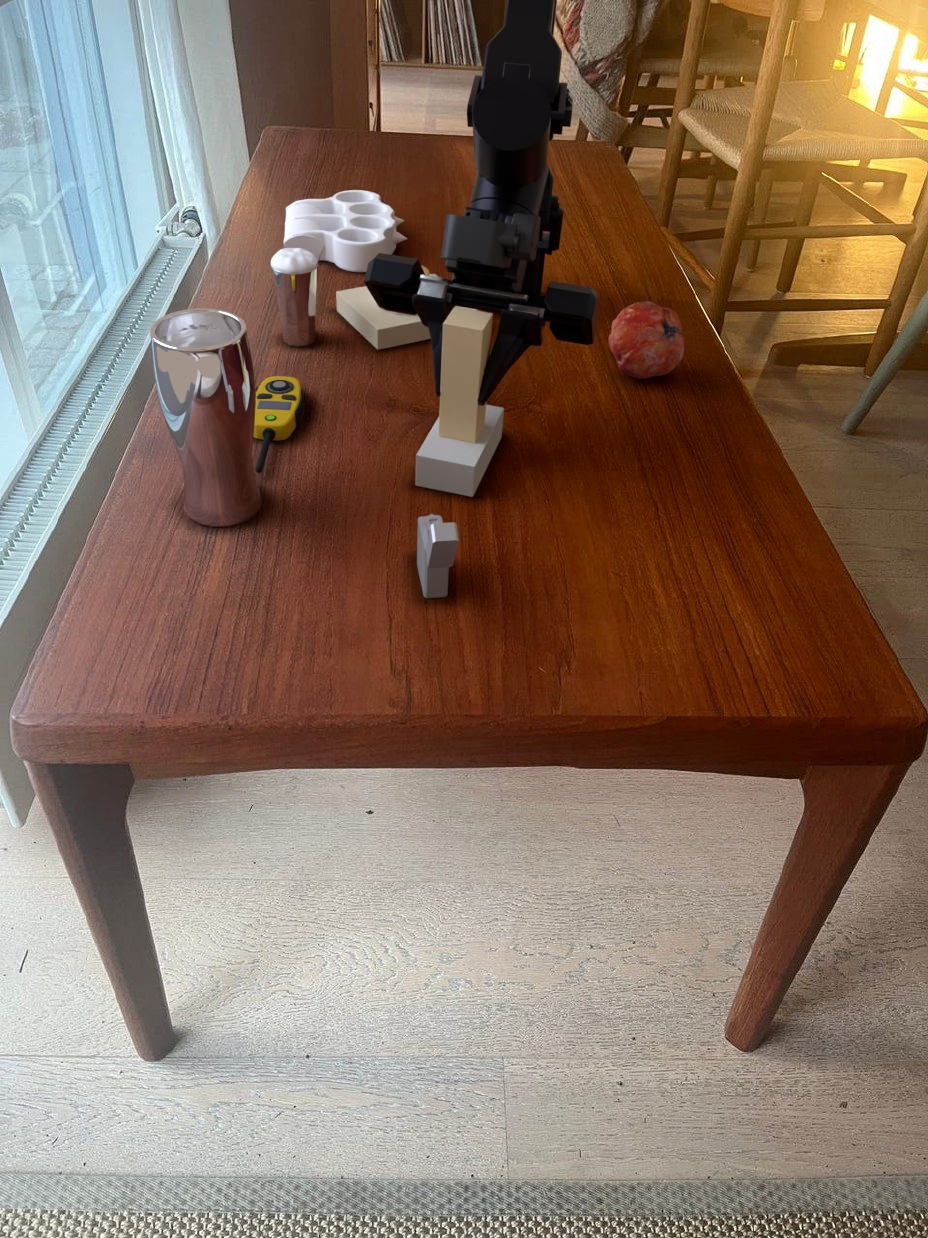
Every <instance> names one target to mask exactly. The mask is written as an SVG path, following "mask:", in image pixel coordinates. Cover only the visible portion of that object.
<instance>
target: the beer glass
mask: <svg viewBox="0 0 928 1238" xmlns="http://www.w3.org/2000/svg"><path fill="white" fill-rule="evenodd" d="M149 335H150V339H151V340H150V341H151V350H152V352H151V353H152V362H153V373H154V381H155V387H156V392H157V396H158V401H159V404H160V405H159V406H160V408H161V411H162V415H163V417H164V420H165V421H164V422H165V424H166V426H167V429H168V431H169V434H170V437H171V439H172V442H173V444H174V447H175V450H176V452H177V455H178V458H179V461H180V464H181V467H182V468H181V469H182V473H183V500H182V501H183V510H184V513H185V514H186V516H187V517H188V518H189V519H190V520H192V521H194V522H196V523H197V524H200V525H203V526H205V527H214V528H223V527H224V528H225V527H231V526H236V525H240V524H242V523H244V522H247V521H249V520H251V518H253V517H254V516H256V515H257V513H259V511H260V509H261V507H262V502H263V501H262V494H261V491H260V488H259V485H258V482H257V478H256V475H255V472H254V466H253V445H254V425H255V412H256V377H255V370H254V363H253V358H252V353H251V348H250V342H249V337H248V333H247V323H246V322H245V321H244V319H243V318H241V317H240V316H238V315H237V314H235V313H233V312H231V311H227V310H222V309H218V308H208V307H207V308H206V307H201V308H196V307H195V308H188V309H181V310H178V311H177V310H176V311H173V312H170V313H167V314H165V315H163V316H161V317H159V318H158V319H157V320H156V321H154V322H153V323H152V325H151V327H150V329H149Z"/></svg>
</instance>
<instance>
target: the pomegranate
mask: <svg viewBox="0 0 928 1238" xmlns="http://www.w3.org/2000/svg"><path fill="white" fill-rule="evenodd" d="M610 328H611V329H610V334H609V335H608V347H609V349H610V351H611V353H612V354H613V356H614V359H615V362H616V364H617V366H618V369H619V370H620V372H622V373H624V374H625V375H627V376H630V377H632V378H634V379H639V380H641V379H642V380H645V379H648V378H652V377H660V376H665V375H667V374H669V373H670V372H671V371H674V369H675V368H677V366H678V365H679V364H680V362H681V360H682V359H683V357H684V352H685V338H684V335H683V334H684V332H683V331H682V329H683V325H682V323H681V320H680V318H679V315H678V313H677V312H676V311H675V310H674V309H671V308H668V307H662V306H660V305H658V304H657V303H655V302H653V301H649V300H645V301H642V302H641V301H637V302H635V303H632V304H630V305H628V306H627V307H624V308H623V309H622V310H621V311H620V312H619V314H618V315H617V316H616V317H615V318H614V320H613V321H611V327H610Z"/></svg>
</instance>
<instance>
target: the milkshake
mask: <svg viewBox="0 0 928 1238" xmlns="http://www.w3.org/2000/svg"><path fill="white" fill-rule="evenodd" d="M323 249H324V246H323V248H322V251H323ZM322 251H321V253H320V256H319V259H320V257H321V254H322ZM319 259H318V260H317V258H316V257H315V256H314V255H313V254H312V253H311V252H309V251H306V250H304V249H302V248H284V247H283V248H281V249H279V250H278V251H277V252H275V254H274V255H273V256H272V257H271V259H270V268H271V274H272V280H273V284H274V285H273V286H274V290H275V295H276V301H277V307H278V313H279V320H280V327H281V333H282V339H283V342H284V343H285V344H287V345H289V346H291V347H298V348H301V347H308V346H311V345H312V344H314V343H315V342H316V309H317V308H316V305H317V288H318V274H319V273H318V272H319V271H318V270H319V261H320V260H319Z"/></svg>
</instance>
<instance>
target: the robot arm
mask: <svg viewBox="0 0 928 1238" xmlns="http://www.w3.org/2000/svg"><path fill="white" fill-rule="evenodd" d="M557 5H558V0H506V1H505V9H504V16H503V25H502V28H501V29H499V31H498V32H497V33H496V34H495V35H494V36H493V37H492V38H491V39H490V40H489V42H487V44H486V46H485V52H484V60H483V67H482V74H479V75H478V74H475V75H474V78H473V82H472V86H471V89H470V93H469V96H468V97H469V98H468V101H467V106H466V120H467V121H466V123H467V124H466V125H467V127H468V128H472V139H473V140H472V141H473V154H474V157H473V158H474V166H475V169H476V175H475V180H474V183H473V184H474V185H473V188H472V193H471V197H470V200H469V205H468V206H466V207H465V210H464V212H463V215H459V214H452V213H447V214H446V219H445V225H444V232H443V239H442V246H441V253H440V259H441V260H446V261H445V265H444V267H445V269H446V272H447V273H452V277H451V279H447V278H444V277H440V276H438V277H435V276H428V275H425V273H424V271H423V269H422V266H423V265H422V264H421V262H420V260H419V258H413V257H406V256H401V255H395V254H391V255H389V254H383V253H379V254H377V255H376V256H375V257H374V258H373V259H372V260H371V261H370V262H369V263H368V267H367V271H366V272H365V275H364V276H365V277H364V279H363V284H364V285H365V286H366V287H367V288H368V290H369V292H370V293H371V295H372V297H373V298H374V300H375V302H376V303H377V305H378V307H380V308H382V309H384V310H386V311H392V312H397V313H403V314H409V315H416V314H418V316H419V318H420V320H421V322H422V324H423V325H424V326H426V327H428V328H429V333H430V338H431V339H430V343H431V344H430V345H431V351H432V352H431V353H432V366H433V376H434V378H433V379H434V388H435V390H434V391H435V395H436V397H437V398H438V399H440V395H441V392H440V387H441V362H442V337H443V323H444V321H445V320H446V319H447V317H448V316H449V314H450V313H451V311H452V310H453V308H454V307H455V306H459V307H465V308H471V309H477V310H480V311H482V312H488V313H496V314H500V316H499V322H498V328H497V333H496V336H495V340H494V342H493V346H492V349H491V350H490V357H489V360H488V363H487V366H486V369H485V372H484V375H483V378H482V382H481V387H480V392H479V397H478V404H479V405H481V406H484V405H485V403H486V404H487V402H488V401H489V399H490V398H491V396H492V394H493V393H494V392H495V390H496V389H497V387H498V386H499V384H500V383H501V382H502V380H503V379H504V378H505V376H506V375H507V373H508V372H509V370H510V369H511V368H512V367H513V366H514V364H515V363H516V362H517V361H518V360H519V359H520V358H521V357H522V355H524V353H525V352H526V351H527V350H528V349H529V348H530V347H531V346H534V347H541V346H542V345H543V342H544V338H543V330H544V327H546V323H547V322H549V326H548V328H549V331H550V332H551V334H552V335H553V337H554V338H555V340H556V341H560V342H566V343H571V344H578V345H584V346H590V345H594V342H595V338H596V333H597V328H598V323H599V317H600V311H599V296H598V295H597V293H596V291H595V290H594V287H592V286H586V285H579V284H574V283H567V282H563V281H556V280H555V281H554V280H549V281H550V282H549V283H548V285H547V287H546V291H545V292H546V293H545V294H542V289H543V279H544V278H543V277H544V269H545V260H546V255H547V256H552V255H553V252H555V251H558V250H560V245H561V244H560V243H561V236H562V227H563V220H564V212H565V211H564V209H563V208H562V207H561V205H560V203H561V202H560V201H559V194H553V188H554V187H553V186H554V174H553V172H552V171H553V170H552V169H551V166H550V163H549V162H548V158H549V157H548V156H549V145H550V142H551V141H552V140H553V139H554V135H560V136H562V135H563V130H564V129H563V128H565V127H566V128H571V127H572V118H573V117H572V116H573V104H574V99H573V97H572V96H571V95H570V88H568V82H563V81H562V82H561V81H560V78H561V68H562V58H563V50H562V48H561V46H560V45H559V43H558V42H557V39H556V38H555V36H554V34H555V25H556V14H557ZM421 265H422V266H421Z"/></svg>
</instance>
